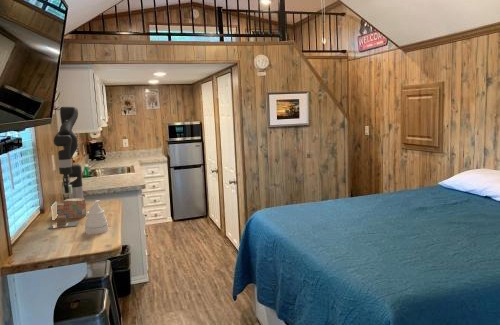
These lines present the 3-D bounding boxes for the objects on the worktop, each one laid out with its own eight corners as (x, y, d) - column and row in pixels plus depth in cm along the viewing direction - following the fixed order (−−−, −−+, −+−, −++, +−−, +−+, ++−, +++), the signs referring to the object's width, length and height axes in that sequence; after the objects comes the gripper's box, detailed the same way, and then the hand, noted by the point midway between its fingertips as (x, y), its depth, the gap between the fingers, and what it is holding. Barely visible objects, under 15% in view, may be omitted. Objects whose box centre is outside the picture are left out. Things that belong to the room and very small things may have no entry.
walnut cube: (58, 223, 249) (57, 216, 248) (66, 223, 250) (66, 215, 249) (57, 226, 244) (56, 218, 243) (65, 225, 245) (65, 217, 245)
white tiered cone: (100, 226, 244) (97, 198, 241) (112, 229, 236) (110, 200, 234) (80, 231, 233) (78, 202, 231) (93, 235, 226) (91, 205, 224)
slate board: (51, 224, 250) (51, 223, 249) (78, 222, 254) (78, 220, 254) (48, 229, 240) (48, 228, 240) (76, 226, 245) (76, 225, 245)
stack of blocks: (51, 218, 265) (49, 200, 263) (56, 216, 271) (54, 198, 269) (82, 218, 264) (81, 200, 262) (86, 215, 270) (85, 198, 269)
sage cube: (64, 192, 255) (63, 185, 255) (72, 192, 257) (71, 184, 256) (62, 194, 251) (62, 186, 250) (71, 193, 252) (70, 186, 252)
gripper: (60, 165, 257) (62, 190, 259) (57, 168, 244) (59, 194, 246) (72, 164, 259) (75, 189, 262) (70, 167, 246) (72, 193, 248)
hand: (67, 192), depth 254 cm, fingers closed on sage cube, 5 cm apart
